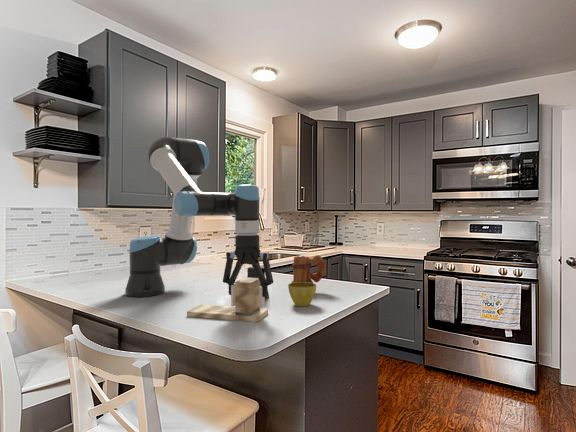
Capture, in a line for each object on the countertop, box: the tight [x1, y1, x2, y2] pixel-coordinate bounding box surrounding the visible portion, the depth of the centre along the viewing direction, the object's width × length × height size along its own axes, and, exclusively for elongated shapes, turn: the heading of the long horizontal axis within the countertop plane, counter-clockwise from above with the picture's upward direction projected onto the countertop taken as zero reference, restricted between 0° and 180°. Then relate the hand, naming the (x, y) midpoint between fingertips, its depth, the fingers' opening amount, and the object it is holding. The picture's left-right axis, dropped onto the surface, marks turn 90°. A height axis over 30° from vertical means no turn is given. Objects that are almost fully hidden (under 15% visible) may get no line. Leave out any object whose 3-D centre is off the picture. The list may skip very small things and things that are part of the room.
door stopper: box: [246, 266, 270, 300], centre depth 135 cm, size 9×6×12 cm, turn 152°
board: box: [186, 304, 269, 323], centre depth 114 cm, size 24×9×2 cm, turn 74°
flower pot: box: [287, 282, 317, 307], centre depth 126 cm, size 10×10×7 cm
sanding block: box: [234, 277, 261, 316], centre depth 112 cm, size 5×8×10 cm, turn 164°
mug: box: [290, 254, 326, 283], centre depth 148 cm, size 15×8×15 cm, turn 68°
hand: (248, 306), depth 112 cm, fingers open, 9 cm apart
